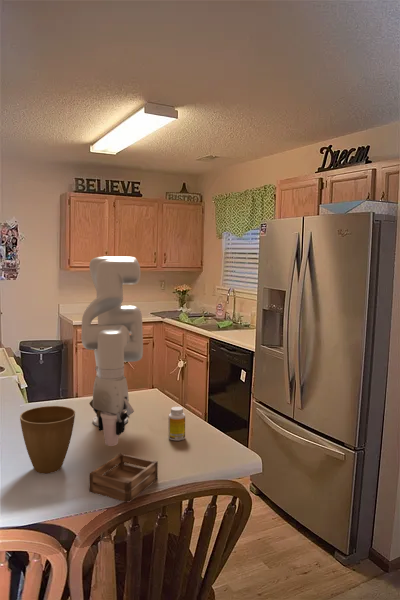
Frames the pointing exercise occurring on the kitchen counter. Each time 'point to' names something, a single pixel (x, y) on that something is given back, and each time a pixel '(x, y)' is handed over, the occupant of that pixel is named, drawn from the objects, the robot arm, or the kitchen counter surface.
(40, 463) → the plant pot
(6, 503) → the kitchen counter surface
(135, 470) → the crate
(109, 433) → the smoothie
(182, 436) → the supplement bottle
